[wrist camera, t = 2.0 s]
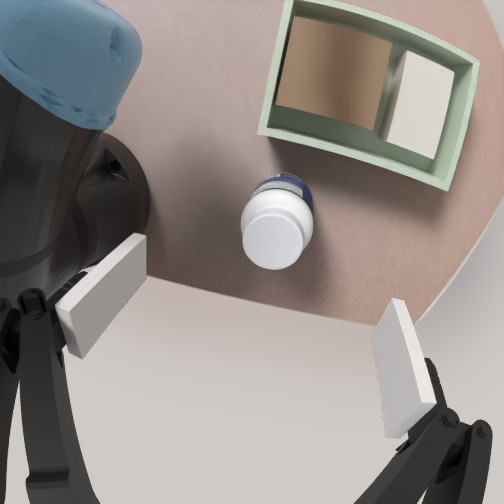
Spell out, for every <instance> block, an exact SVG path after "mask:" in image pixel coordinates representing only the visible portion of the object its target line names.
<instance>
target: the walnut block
mask: <svg viewBox="0 0 504 504" xmlns="http://www.w3.org/2000/svg"><path fill="white" fill-rule="evenodd" d="M391 46H392V43H391V42H388V41H386V40H383V39H380V38H377V37H374V36H371V35H368V34H365V33H362V32H358V31H355V30H352V29H348V28H345V27H341V26H337V25H333V24H329V23H325V22H321V21H316V20H312V19H307V18H302V17H297V16H294V19H293V24H292V29H291V33H290V38H289V43H288V47H287V52H286V57H285V61H284V66H283V71H282V75H281V80H280V85H279V90H278V94H277V99H276V104H275V105H280V106H284V107H289V108H293V109H298V110H302V111H306V112H310V113H314V114H318V115H322V116H326V117H329V118H333V119H337V120H340V121H344V122H347V123H350V124H354V125H357V126H360V127H363V128H366V129H369V130H372V131H373V127H374V123H375V119H376V115H377V111H378V107H379V103H380V98H381V94H382V90H383V85H384V81H385V76H386V71H387V66H388V61H389V56H390V51H391Z"/></svg>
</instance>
